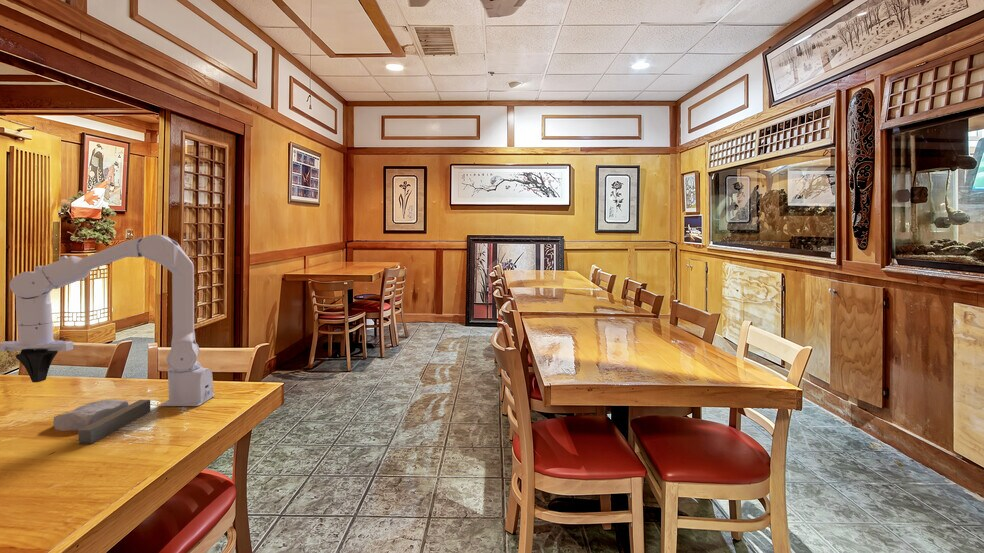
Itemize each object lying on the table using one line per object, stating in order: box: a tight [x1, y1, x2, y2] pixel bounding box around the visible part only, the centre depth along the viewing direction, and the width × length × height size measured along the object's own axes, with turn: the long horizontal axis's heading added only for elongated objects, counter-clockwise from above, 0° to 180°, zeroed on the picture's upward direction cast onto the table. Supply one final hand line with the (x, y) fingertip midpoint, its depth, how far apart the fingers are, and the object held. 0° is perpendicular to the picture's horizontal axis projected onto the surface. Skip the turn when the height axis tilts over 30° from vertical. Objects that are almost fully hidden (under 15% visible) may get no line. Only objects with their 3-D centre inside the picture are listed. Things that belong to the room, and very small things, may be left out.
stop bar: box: [77, 399, 152, 445], centre depth 104 cm, size 2×18×3 cm, turn 3°
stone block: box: [52, 398, 130, 432], centre depth 107 cm, size 12×5×10 cm
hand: (39, 381), depth 106 cm, fingers closed
